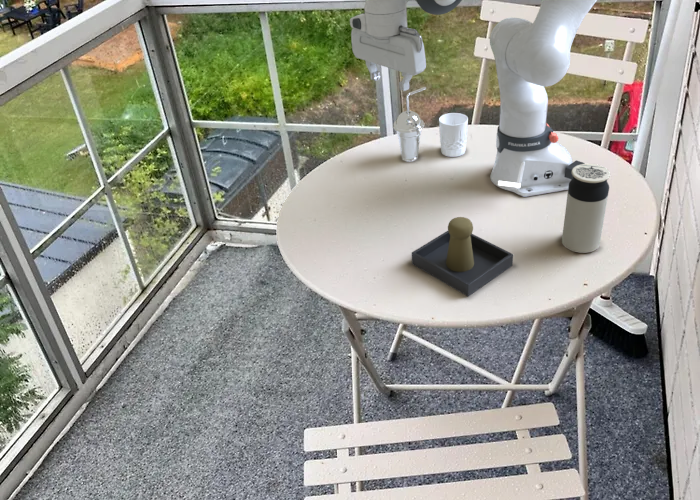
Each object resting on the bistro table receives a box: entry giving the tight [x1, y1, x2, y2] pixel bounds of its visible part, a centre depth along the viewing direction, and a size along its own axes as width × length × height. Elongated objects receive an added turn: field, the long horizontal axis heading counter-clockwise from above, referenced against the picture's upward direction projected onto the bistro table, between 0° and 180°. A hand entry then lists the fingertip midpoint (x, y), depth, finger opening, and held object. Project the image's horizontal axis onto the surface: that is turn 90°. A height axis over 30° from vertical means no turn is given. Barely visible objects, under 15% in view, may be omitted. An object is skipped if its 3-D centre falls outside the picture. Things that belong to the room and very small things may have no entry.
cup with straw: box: [392, 86, 427, 163], centre depth 178 cm, size 8×9×20 cm
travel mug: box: [561, 163, 611, 254], centre depth 139 cm, size 8×8×18 cm
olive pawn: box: [446, 216, 474, 272], centre depth 139 cm, size 6×6×11 cm
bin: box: [411, 230, 514, 297], centre depth 141 cm, size 16×14×3 cm
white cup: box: [438, 112, 469, 158], centre depth 181 cm, size 8×8×10 cm
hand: (389, 84), depth 147 cm, fingers open, 8 cm apart
